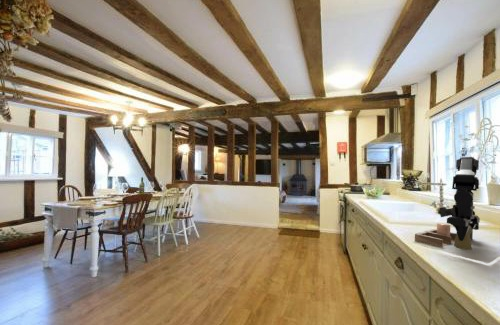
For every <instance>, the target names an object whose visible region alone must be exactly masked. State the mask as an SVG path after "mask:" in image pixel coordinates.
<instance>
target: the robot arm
mask: <svg viewBox="0 0 500 325" xmlns="http://www.w3.org/2000/svg"><path fill="white" fill-rule="evenodd" d="M455 161H456V163H455V169H456V170H457V171H456V172H455V175H453V177H452V186H451V187H452V190H456V191H455V193H454V195H453V198H454V201H455V202H454V204H453V205H452V207H451V208H446V207H445V206H444V207H439V208H438V212H437V214H438V215H439V216H440V218H444V217H447V218H446V224H448V225H450V226H452V227H453V228H454V229H455V231H456V233H457V234H458V238H459V240H460V241H463V239H464V238H465V236H466V234H467V232H468V230H469V228H470V226H471V228H472V229H471V232H470V239H471V241H473V236H474V235H473V233H474V230H475V231H477V230H480V227H479V225H480V220H481V219H480V217H479V216H478V215H476V212H475V211H474V209H475V208H476V207H475V206H474V195H475V194H474V192H473V191H476V192H477V190H479V188H480V179H478V177H477V174H478V173H477V171H479V168H480V166H479V165H480V164H479V163H480V161H479V159H476V158H475V157H474V156H460V158H458V159H456V160H455ZM468 225H470V226H468Z"/></svg>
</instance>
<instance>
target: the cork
mask: <svg viewBox="0 0 500 325" xmlns="http://www.w3.org/2000/svg"><path fill="white" fill-rule="evenodd" d="M468 226H470V225H468ZM471 229H472V228H471V226H470V228H469V230H468V232H467V234H466V236H465V238H464V239H463V241H460V240H459V238H458V234H457V232H455V233H456V238H455V242H454V244H453V247H455V248H458V249H463V250H470V251H471V250H472V249H473V248H472V240H471V239H470V232H471Z"/></svg>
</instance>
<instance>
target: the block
mask: <svg viewBox="0 0 500 325" xmlns="http://www.w3.org/2000/svg"><path fill="white" fill-rule="evenodd" d="M436 229H437V234H441V235H446V236H450V232H451V224H448V223H441V222H438V223H436Z"/></svg>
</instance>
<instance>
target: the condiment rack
mask: <svg viewBox="0 0 500 325" xmlns="http://www.w3.org/2000/svg"><path fill="white" fill-rule="evenodd" d="M456 233H457V232H451V231H450V236H446V235H441V234H437V228H431V229H428V230H424V231H420V232H417V233H414V241H415V242H419V243H422V244H423V243H424V244H427V245H430V246H435V247H439V248H444V247H446V246H448V245H450V244H451V245H452V244H453V243H454V242H455V238H456Z"/></svg>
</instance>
